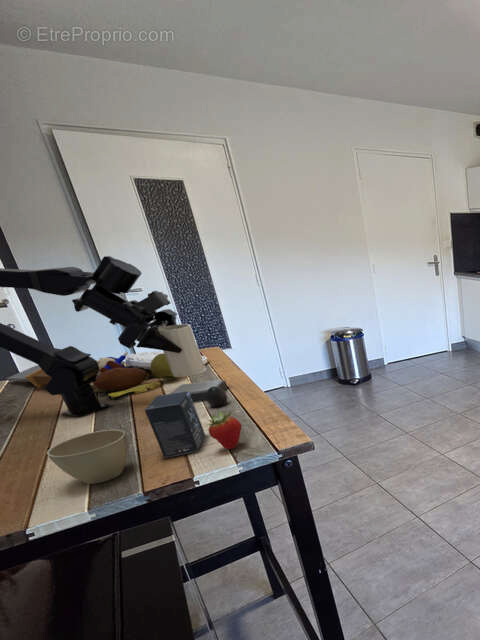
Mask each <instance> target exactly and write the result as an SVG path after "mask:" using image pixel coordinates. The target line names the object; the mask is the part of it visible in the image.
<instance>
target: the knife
mask: <svg viewBox="0 0 480 640" xmlns="http://www.w3.org/2000/svg"><path fill="white" fill-rule="evenodd" d="M17 379H21V380H17ZM51 379H52V377H50V376H48V375H47V374H45V372H44V371H43V370H42V369H41V368H40V367H39V365H34V366H31V367H30V368H27V369H24V370H23V371H20V372H18V373H15V374H13V375H11V376H8V377H6V380H7V381H9V382H12V381H11V380H16V381H15V382H30V383H31V384H32V385H33V386H35V387H36V388H42V387H43V386H44V385H45V386H46V385H47V384H48V383H49V381H50V380H51Z"/></svg>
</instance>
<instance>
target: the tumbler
mask: <svg viewBox="0 0 480 640" xmlns="http://www.w3.org/2000/svg"><path fill="white" fill-rule="evenodd" d="M158 330H159V332H160V334H161V335H163V336H164V337H165V338H167V339H168V340H170V341H171V342H173V343H174V344H176V345H177V346H178V347H180V348H181V349H182V351H181V352H180V353H176V352H170V351H164V350H162V352H164V354H165V356H166V359H167V362H168V364H169V367H170V369H171V372H172V374H173V376H174V377H181V378H186V377H193V376H196V375H199V374H203V373H204V372H205V371H206V369H207V368H206V366H205V365H206V364H204V363H203V360H202V357H201V356H202V355H201V352H200V349H199V346H198V343H197V341H196V337H195V334H194V331H193V329H192V326H191V324H188V323H179V324H177V325H170V326H165V327H161V328H158Z"/></svg>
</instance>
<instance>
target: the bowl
mask: <svg viewBox="0 0 480 640" xmlns="http://www.w3.org/2000/svg"><path fill="white" fill-rule="evenodd" d="M46 455H47V456H48V458H49V460H51V461H52V462H53V463H54V464H55V465H56V466H57V467H58V468H59V469H61V471H63V472H65V474H67V475H69V476H70V477H72V478H74V479H76V480H78V481H80V482H82V483H85V484H88V485H95V484H100V483H104V482H108V481H110V480H113V479H115V478H117V477H118V476H120V475H121V474H122V473H123V471H124V469H125V466H126V463H127V458H128V440H127V434H126V431H124V430H122V429H104V430H97V431H93V432H92V431H91V432H88V433H84V434H81V435H77V436H74V437H71V438H69V439H66V440H63V441H61V442H59V443H57V444H55V445H54V446H52V447H50V448H49V449H48V450H47V452H46Z"/></svg>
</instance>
